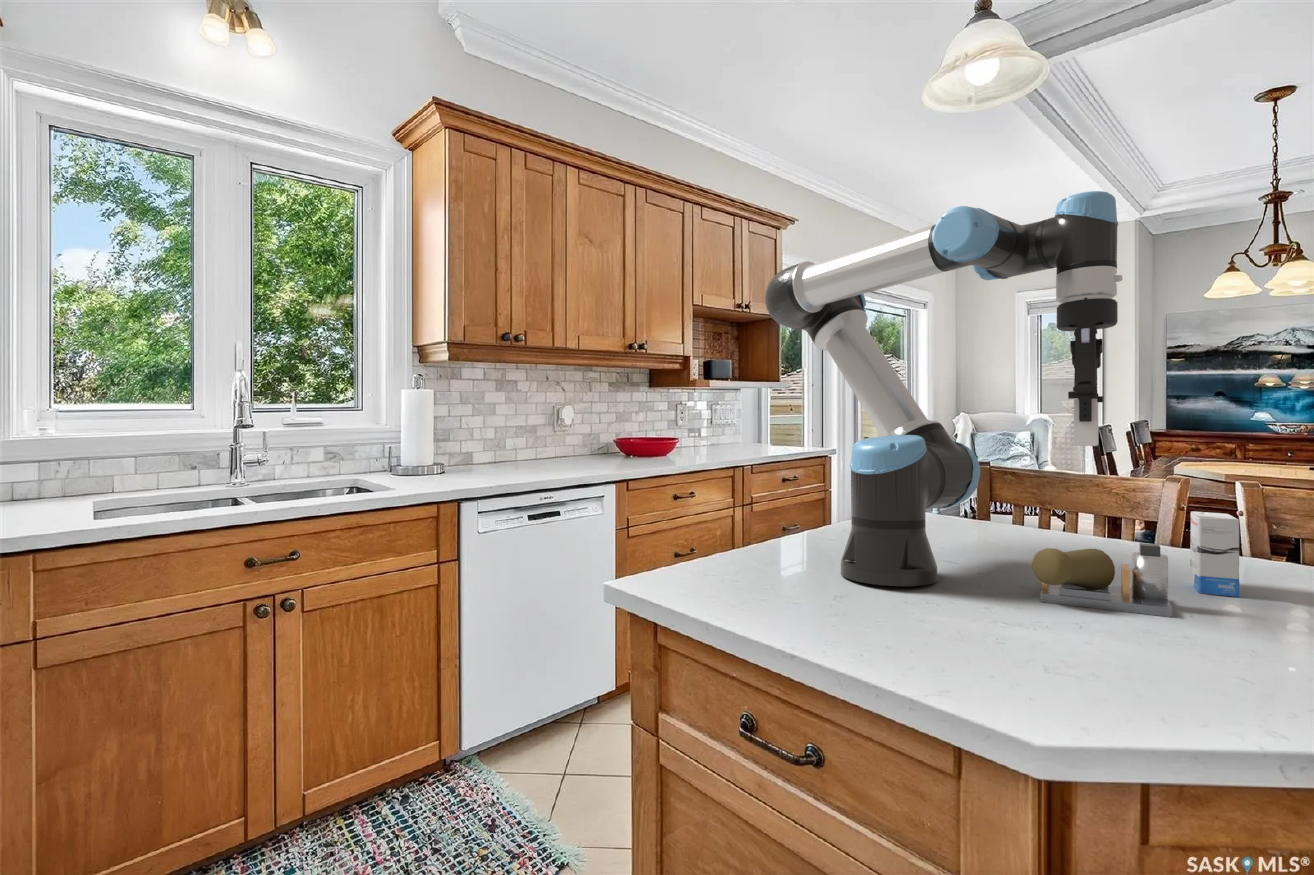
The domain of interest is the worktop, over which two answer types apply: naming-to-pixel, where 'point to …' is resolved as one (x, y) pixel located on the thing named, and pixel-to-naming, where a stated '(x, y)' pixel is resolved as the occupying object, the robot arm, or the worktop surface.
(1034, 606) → the worktop surface
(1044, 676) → the worktop surface
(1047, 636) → the worktop surface
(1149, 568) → the grey stand
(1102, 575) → the cork
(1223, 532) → the ink box
